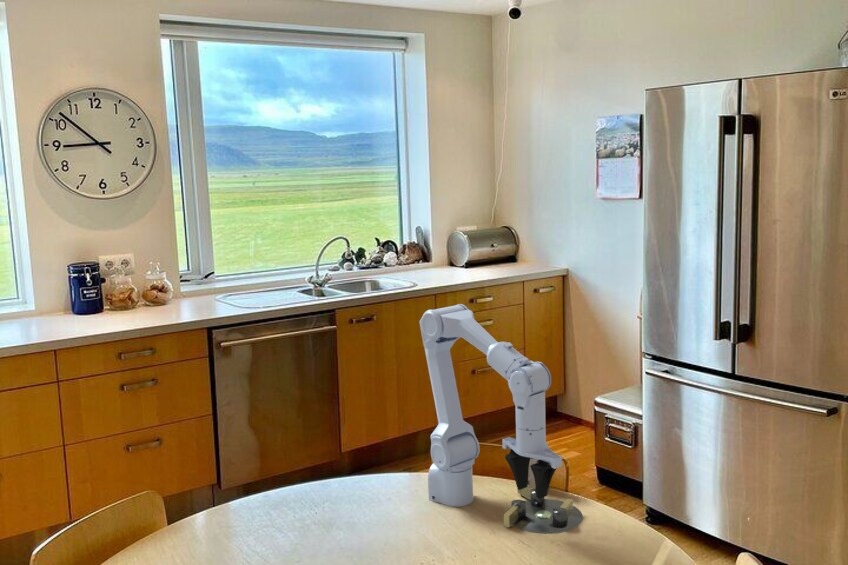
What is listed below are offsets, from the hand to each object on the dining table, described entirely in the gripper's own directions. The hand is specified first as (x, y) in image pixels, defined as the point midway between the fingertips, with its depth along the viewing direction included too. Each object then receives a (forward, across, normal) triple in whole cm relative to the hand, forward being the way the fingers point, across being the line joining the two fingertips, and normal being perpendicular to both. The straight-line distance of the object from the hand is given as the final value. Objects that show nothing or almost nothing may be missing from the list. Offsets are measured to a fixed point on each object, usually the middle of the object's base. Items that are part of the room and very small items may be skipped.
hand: (532, 492), depth 149 cm
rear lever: (+9, +11, -10) cm, 18 cm away
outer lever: (+9, 0, -9) cm, 12 cm away
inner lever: (+9, +7, -1) cm, 11 cm away
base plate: (+10, +4, -7) cm, 13 cm away
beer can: (+10, +15, -16) cm, 24 cm away
